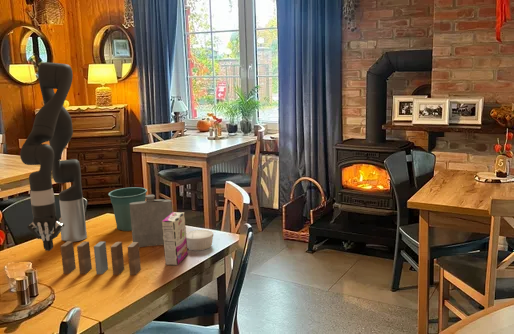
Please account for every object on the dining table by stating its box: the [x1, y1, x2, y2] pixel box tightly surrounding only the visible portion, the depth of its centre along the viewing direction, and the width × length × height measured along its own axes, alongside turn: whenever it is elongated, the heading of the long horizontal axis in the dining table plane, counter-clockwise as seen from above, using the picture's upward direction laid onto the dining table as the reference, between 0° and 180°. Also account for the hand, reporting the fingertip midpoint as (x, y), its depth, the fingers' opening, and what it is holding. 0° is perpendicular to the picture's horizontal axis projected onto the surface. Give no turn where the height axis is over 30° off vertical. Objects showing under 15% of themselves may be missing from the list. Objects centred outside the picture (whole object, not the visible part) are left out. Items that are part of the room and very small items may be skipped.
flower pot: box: [108, 186, 148, 232], centre depth 229 cm, size 16×16×16 cm
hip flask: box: [130, 194, 173, 248], centre depth 205 cm, size 16×4×20 cm, turn 100°
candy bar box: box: [162, 211, 189, 266], centre depth 187 cm, size 11×5×16 cm, turn 168°
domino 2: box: [76, 240, 93, 275], centre depth 180 cm, size 2×5×10 cm, turn 172°
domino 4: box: [110, 241, 125, 276], centre depth 179 cm, size 2×5×10 cm, turn 172°
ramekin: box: [186, 229, 214, 252], centre depth 201 cm, size 11×11×5 cm
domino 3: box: [93, 241, 109, 275], centre depth 180 cm, size 2×5×10 cm, turn 172°
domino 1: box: [60, 241, 77, 275], centre depth 181 cm, size 2×5×10 cm, turn 172°
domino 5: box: [127, 241, 142, 276], centre depth 178 cm, size 2×5×10 cm, turn 172°
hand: (48, 250), depth 182 cm, fingers closed
